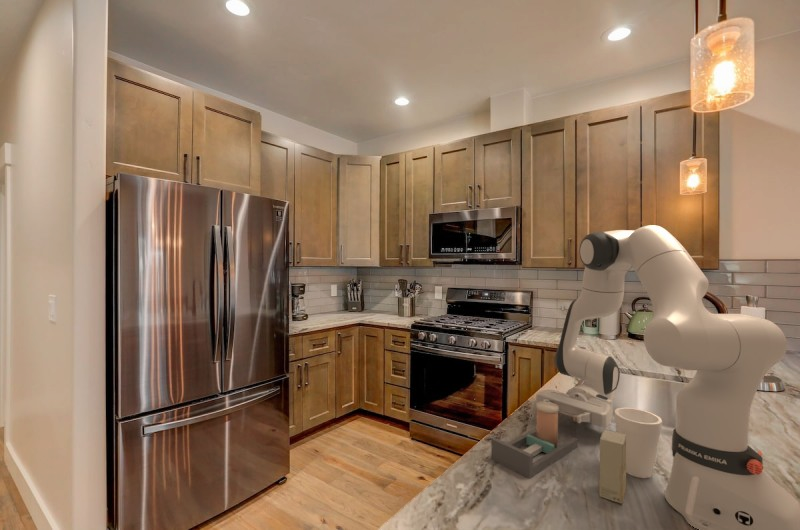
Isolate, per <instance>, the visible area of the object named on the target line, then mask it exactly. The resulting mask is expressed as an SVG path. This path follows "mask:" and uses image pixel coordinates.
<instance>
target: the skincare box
mask: <svg viewBox="0 0 800 530" xmlns="http://www.w3.org/2000/svg"><path fill="white" fill-rule="evenodd" d="M598 476H599V479H598V480H599V482H598V483H599V487H598V488H599V493H598V494H599V497H600V498H603V499H606V500H609V501H612V502H614V503H618V504H621V505H623V503H624V499H625V496H626V492H627V473H626V434H622V433H618V432H617V431H614V430H609V429H604V428H603V431H602V432H601V435H600V438H599V475H598Z"/></svg>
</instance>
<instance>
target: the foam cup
mask: <svg viewBox="0 0 800 530" xmlns="http://www.w3.org/2000/svg"><path fill="white" fill-rule="evenodd" d="M613 415H614V416H613V418H614V419H613V420H614V424H615V430H616V431H615V432H618V433H622V434H626V474H628V475H630V476H633V477H637V478H638V479H639V478H640V479H649V478H651V477H652V476H653V474H654V469H655V466H656V465H655V464H656V459H657V456H658V455H657V454H658V448H659V445H660V444H659V442H660V438H661V433H662V432H663V419H662V418H661V417H660V416H658V415H656V414H655V413H654V412H653V413H652V412H649V411H648V410H647V411H646V410H644V409H639V408H634V407H618V408H616V409H613Z"/></svg>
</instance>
